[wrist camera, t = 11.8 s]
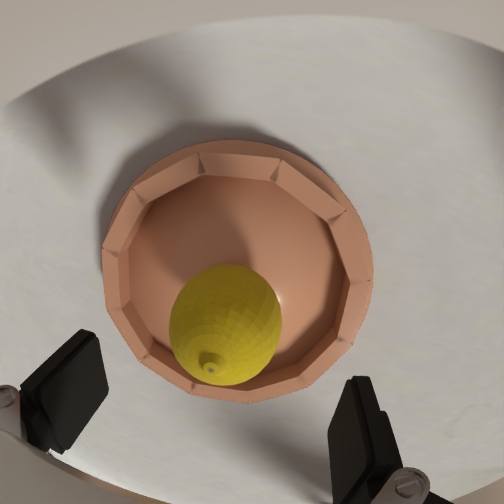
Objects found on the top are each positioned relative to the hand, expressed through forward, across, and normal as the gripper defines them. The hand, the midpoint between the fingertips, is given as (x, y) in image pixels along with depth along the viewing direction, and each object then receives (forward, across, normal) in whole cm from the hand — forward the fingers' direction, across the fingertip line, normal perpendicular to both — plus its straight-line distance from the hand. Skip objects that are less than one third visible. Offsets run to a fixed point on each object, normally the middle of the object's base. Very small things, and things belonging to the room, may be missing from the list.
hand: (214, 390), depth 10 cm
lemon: (+9, +1, 0) cm, 9 cm away
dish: (+10, +1, 0) cm, 10 cm away
